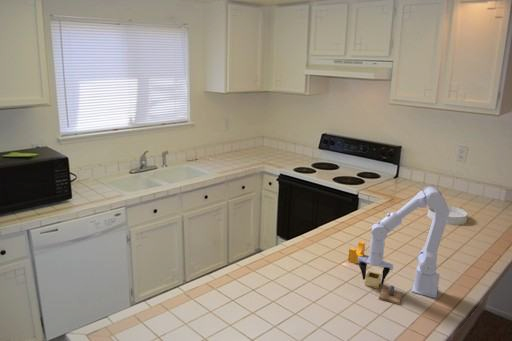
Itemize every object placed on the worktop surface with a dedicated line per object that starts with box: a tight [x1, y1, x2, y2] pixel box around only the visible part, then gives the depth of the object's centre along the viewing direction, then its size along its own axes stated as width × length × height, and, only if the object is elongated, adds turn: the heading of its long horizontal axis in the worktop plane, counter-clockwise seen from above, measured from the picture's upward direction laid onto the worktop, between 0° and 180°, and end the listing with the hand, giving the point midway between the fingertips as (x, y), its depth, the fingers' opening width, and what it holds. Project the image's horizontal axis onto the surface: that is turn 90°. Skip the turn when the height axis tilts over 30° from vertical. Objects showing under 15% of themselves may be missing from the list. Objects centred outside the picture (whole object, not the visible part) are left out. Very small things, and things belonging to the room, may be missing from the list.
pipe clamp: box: [347, 240, 366, 265], centre depth 207 cm, size 12×4×6 cm, turn 142°
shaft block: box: [378, 285, 403, 305], centre depth 174 cm, size 8×8×4 cm
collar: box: [364, 270, 383, 289], centre depth 184 cm, size 6×6×4 cm
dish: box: [426, 205, 468, 226], centre depth 265 cm, size 22×22×5 cm
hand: (373, 281), depth 184 cm, fingers open, 7 cm apart
